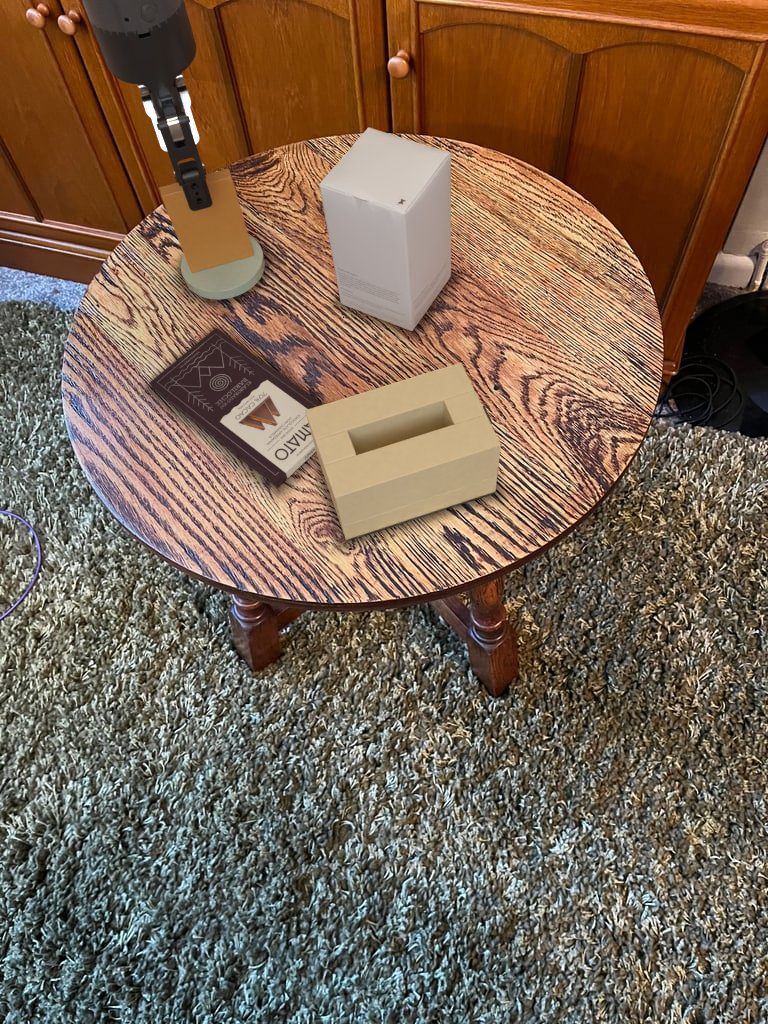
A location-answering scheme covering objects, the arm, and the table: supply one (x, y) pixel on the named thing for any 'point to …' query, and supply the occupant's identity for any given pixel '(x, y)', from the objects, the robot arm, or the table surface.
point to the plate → (226, 276)
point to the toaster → (405, 450)
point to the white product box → (389, 226)
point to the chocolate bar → (242, 405)
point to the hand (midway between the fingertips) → (192, 178)
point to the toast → (209, 224)
